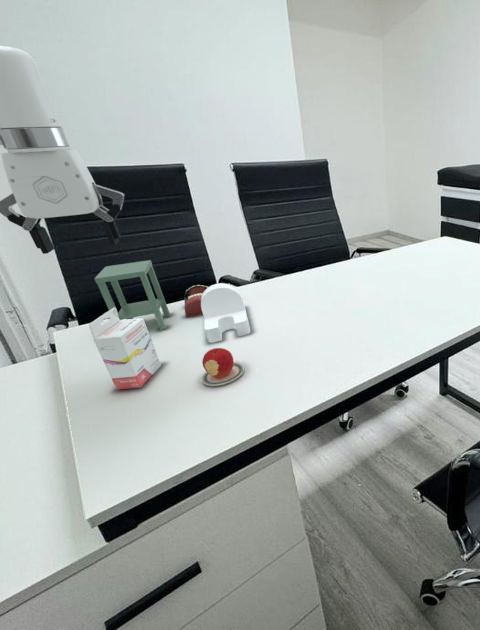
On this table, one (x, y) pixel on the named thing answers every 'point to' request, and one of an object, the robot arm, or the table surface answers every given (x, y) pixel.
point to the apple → (220, 367)
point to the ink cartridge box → (125, 349)
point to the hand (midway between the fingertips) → (83, 247)
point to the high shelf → (140, 271)
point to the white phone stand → (223, 311)
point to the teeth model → (194, 300)
